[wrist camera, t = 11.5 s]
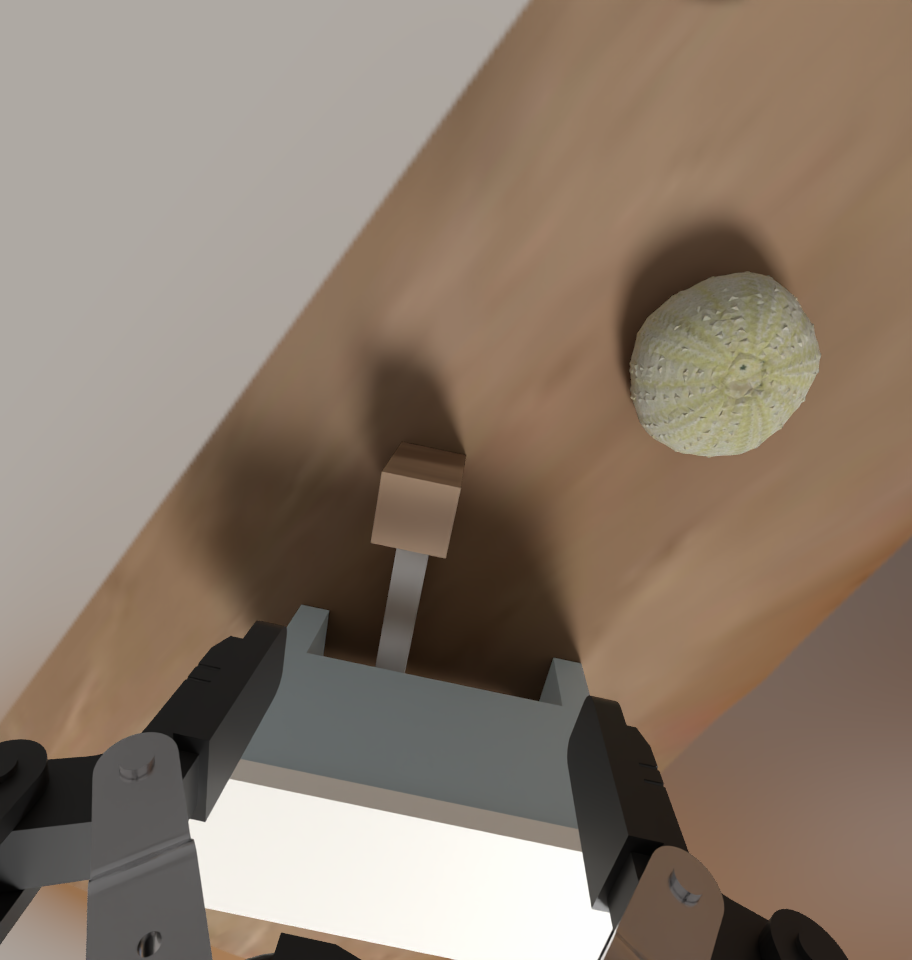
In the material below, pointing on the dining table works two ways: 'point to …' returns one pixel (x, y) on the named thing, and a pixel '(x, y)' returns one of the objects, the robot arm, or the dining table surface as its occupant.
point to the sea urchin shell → (723, 365)
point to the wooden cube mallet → (413, 535)
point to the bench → (406, 812)
